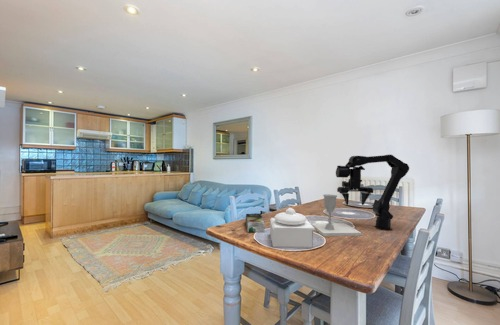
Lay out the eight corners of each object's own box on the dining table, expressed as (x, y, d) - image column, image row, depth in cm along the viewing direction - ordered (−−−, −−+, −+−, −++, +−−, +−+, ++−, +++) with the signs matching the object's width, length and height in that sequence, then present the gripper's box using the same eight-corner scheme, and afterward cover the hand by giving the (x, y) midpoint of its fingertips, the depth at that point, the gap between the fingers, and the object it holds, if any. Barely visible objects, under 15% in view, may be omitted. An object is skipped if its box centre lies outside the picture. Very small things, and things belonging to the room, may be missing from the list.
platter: (344, 225, 136) (344, 223, 136) (361, 235, 118) (361, 232, 118) (311, 226, 135) (311, 223, 135) (323, 236, 117) (323, 233, 117)
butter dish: (269, 234, 118) (270, 203, 118) (305, 235, 118) (305, 204, 118) (272, 247, 101) (273, 211, 101) (314, 248, 100) (314, 211, 100)
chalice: (338, 228, 125) (339, 195, 124) (334, 231, 119) (334, 196, 119) (325, 226, 129) (325, 194, 129) (320, 228, 124) (320, 195, 124)
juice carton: (266, 233, 121) (266, 221, 121) (247, 233, 120) (247, 221, 120) (261, 223, 141) (261, 213, 141) (245, 223, 140) (245, 213, 140)
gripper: (363, 176, 141) (362, 202, 141) (333, 176, 139) (332, 202, 140) (374, 178, 130) (373, 206, 130) (342, 178, 128) (341, 206, 128)
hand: (354, 205), depth 132 cm, fingers open, 9 cm apart
